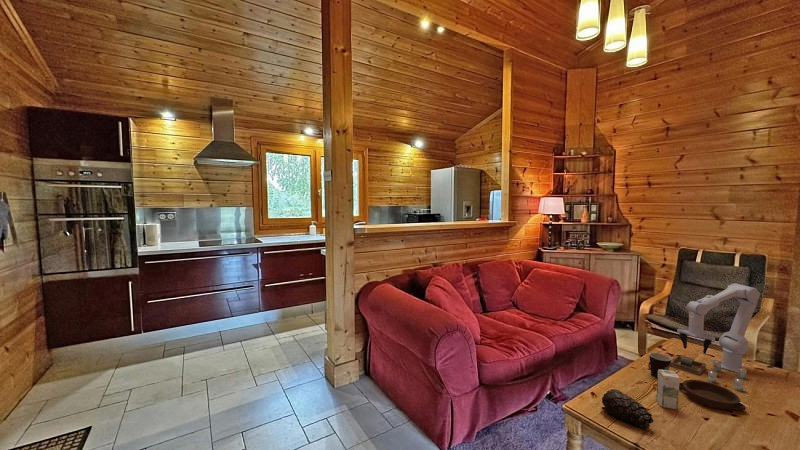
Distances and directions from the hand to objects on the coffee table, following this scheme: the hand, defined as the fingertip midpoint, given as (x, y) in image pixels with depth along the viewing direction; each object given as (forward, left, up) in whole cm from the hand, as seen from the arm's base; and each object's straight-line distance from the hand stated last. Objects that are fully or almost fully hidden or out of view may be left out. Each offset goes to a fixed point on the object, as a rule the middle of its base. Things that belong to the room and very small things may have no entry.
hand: (694, 350), depth 170 cm
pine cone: (+72, -5, -10) cm, 73 cm away
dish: (+30, +11, -10) cm, 33 cm away
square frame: (+1, -3, -10) cm, 10 cm away
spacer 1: (+9, +8, -10) cm, 16 cm away
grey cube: (+1, -3, -10) cm, 10 cm away
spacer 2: (-7, +7, -10) cm, 14 cm away
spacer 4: (+9, +17, -10) cm, 22 cm away
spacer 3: (-7, +16, -10) cm, 20 cm away
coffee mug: (+24, -10, -10) cm, 27 cm away
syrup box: (+49, +1, -10) cm, 50 cm away
